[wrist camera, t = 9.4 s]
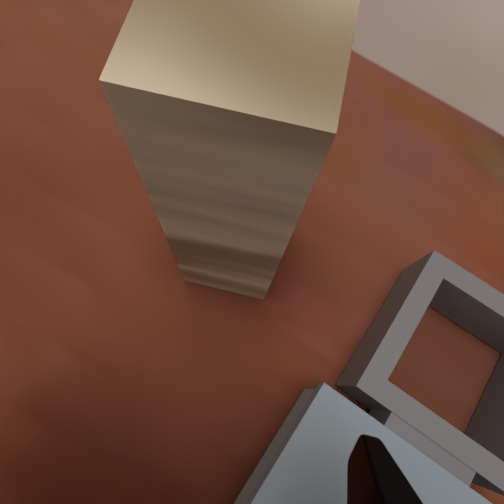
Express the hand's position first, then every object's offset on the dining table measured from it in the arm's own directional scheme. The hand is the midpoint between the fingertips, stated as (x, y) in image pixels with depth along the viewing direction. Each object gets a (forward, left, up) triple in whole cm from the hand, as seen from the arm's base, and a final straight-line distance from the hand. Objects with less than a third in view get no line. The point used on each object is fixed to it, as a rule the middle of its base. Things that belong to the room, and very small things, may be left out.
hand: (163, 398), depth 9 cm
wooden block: (+7, +1, -11) cm, 14 cm away
